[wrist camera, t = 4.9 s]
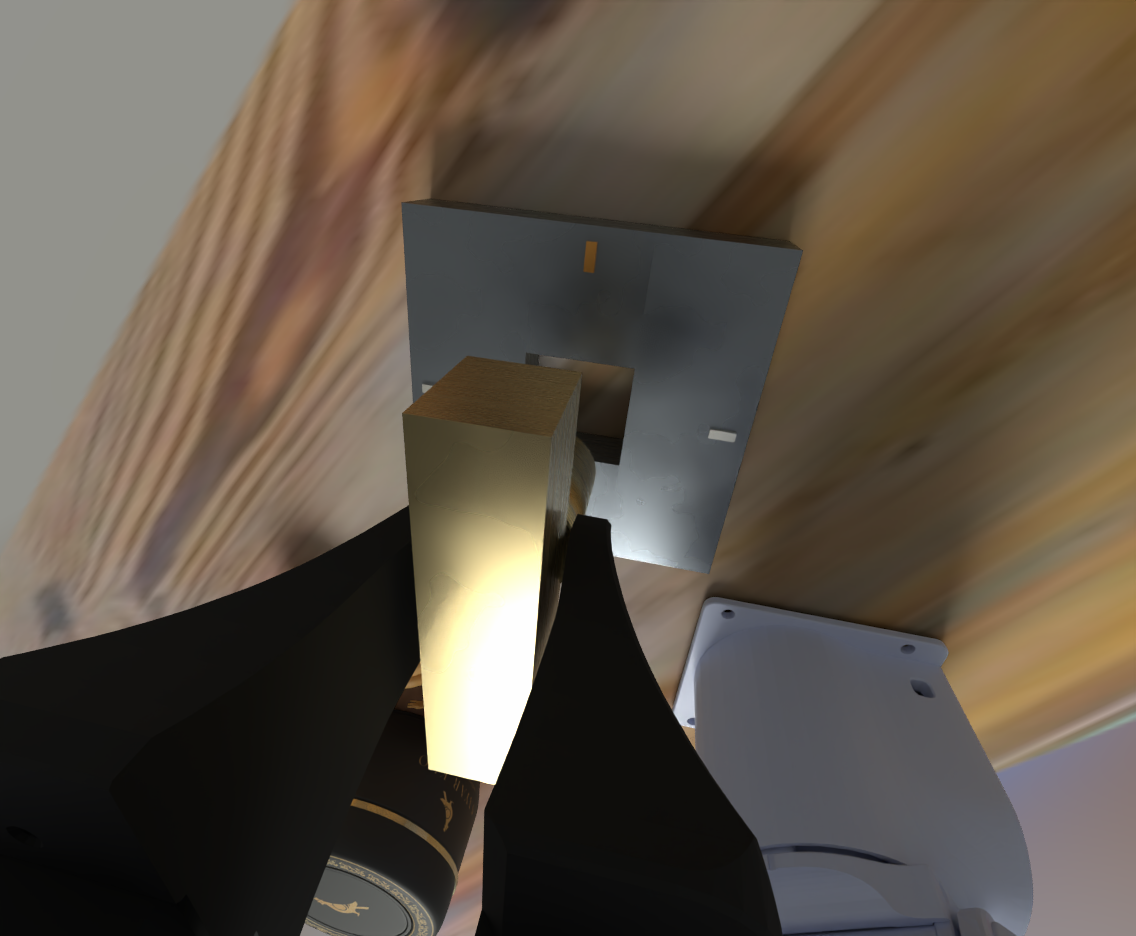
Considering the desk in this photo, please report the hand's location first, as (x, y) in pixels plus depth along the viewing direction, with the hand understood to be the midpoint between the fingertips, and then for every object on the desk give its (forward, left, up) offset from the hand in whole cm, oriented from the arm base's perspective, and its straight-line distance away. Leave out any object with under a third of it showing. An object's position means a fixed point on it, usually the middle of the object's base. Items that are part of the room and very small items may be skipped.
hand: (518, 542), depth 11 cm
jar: (+8, +25, -9) cm, 28 cm away
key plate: (0, 0, -9) cm, 9 cm away
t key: (0, 0, -3) cm, 3 cm away
